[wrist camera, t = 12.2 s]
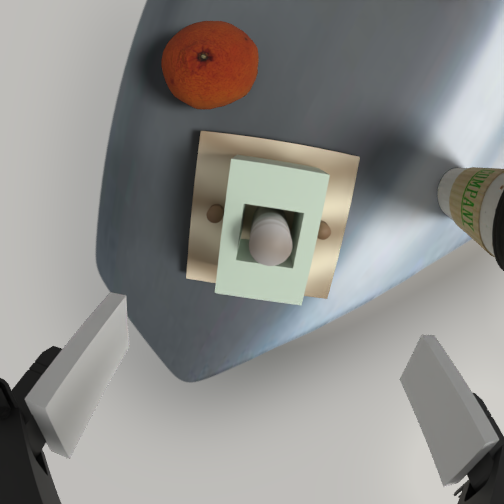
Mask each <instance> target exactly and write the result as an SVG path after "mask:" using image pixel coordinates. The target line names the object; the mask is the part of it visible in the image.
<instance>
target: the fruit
mask: <svg viewBox="0 0 504 504" xmlns="http://www.w3.org/2000/svg"><path fill="white" fill-rule="evenodd" d="M257 67H258V49H257V47H256V45H255V44H254V42H253V41H252V40H251V39H250V38H249V36H248V35H247V34H246V33H244V32H243V31H242V30H240V29H238V28H237V27H235V26H234V25H232V24H229V23H227V22H222V21H202V22H198V23H194V24H191V25H189V26H187V27H185V28H183V29H182V30H180V31H179V32H178V33H177V34H176V35H175V36H174V37H173V38H172V39H171V40H170V41H169V42H168V43H167V45H166V47H165V49H164V51H163V55H162V70H163V75H164V77H165V80H166V83H167V85H168V87H169V89H170V91H171V92H172V94H173V95H174V96H175V97H176V98H178V99H179V100H180V101H182V102H184V103H186V104H188V105H190V106H192V107H193V108H196V109H213V108H216V107H222V106H225V105H227V104H230V103H232V102H234V101H236V100H238V99H240V98H242V97H244V96H245V95H246V94H247V93H248V92H249V91H250V89H251V87H252V85H253V83H254V81H255V79H256V76H257V71H258V70H257Z"/></svg>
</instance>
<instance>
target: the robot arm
mask: <svg viewBox="0 0 504 504" xmlns="http://www.w3.org/2000/svg"><path fill="white" fill-rule="evenodd" d="M129 347H130V345H129V334H128V321H127V303H126V295H121V294H116V293H111V292H110V293H109V294H108V295H107V296H106V298H105V299H104V300H103V301H102V302H101V303H100V305H99V306H98V307H97V308H96V309H95V310H94V312H93V313H92V314H91V315H90V316H89V318H88V319H87V320H86V321H85V322H84V323H83V325H82V326H81V327H80V328H79V329H78V331H77V332H76V333H75V334H74V336H73V337H72V338H71V339H70V340H69V342H68V343H67V344H66V345H65V347H64V348H63V349H61V348H58V347H55V346H52V347H51V348H49V349H47V350H46V351H44V352H42V354H41V355H40V356H39V357H38V359H37V360H36V361H35V363H33V365H32V366H31V367H30V368H29V369H30V370H28V371H27V372H26V373H25V374H24V376H23V377H22V378H21V379H20V381H19V382H18V383H17V384H16V386H15V387H14V388H13V389H12V391H11V389H10V387H9V385H8V383H7V382H6V381H5V380H4V379H1V378H0V504H61V502H60V499H59V497H58V494H57V491H56V489H55V486H54V483H53V480H52V477H51V474H50V471H49V468H48V465H47V462H46V458H45V455H44V452H43V451H42V448H43V446H44V444H45V443H47V444H48V446H49V448H50V449H51V451H53V452H55V453H57V454H59V455H62V456H64V457H66V458H69V459H70V457H71V455H72V453H73V451H74V449H75V447H76V445H77V443H78V441H79V439H80V437H81V435H82V433H83V432H84V430H85V428H86V425H87V424H88V422H89V420H90V418H91V416H92V414H93V412H94V410H95V408H96V406H97V405H98V403H99V401H100V399H101V397H102V395H103V394H104V392H105V390H106V388H107V386H108V384H109V382H110V380H111V379H112V377H113V375H114V373H115V372H116V370H117V368H118V366H119V364H120V363H121V361H122V359H123V357H124V356H125V354H126V352H127V350H128V349H129ZM400 381H401V383H402V385H403V388H404V390H405V392H406V394H407V396H408V399H409V401H410V403H411V405H412V408H413V410H414V413H415V415H416V417H417V420H418V422H419V424H420V427H421V429H422V432H423V434H424V436H425V439H426V442H427V444H428V447H429V449H430V452H431V454H432V457H433V459H434V462H435V465H436V467H437V470H438V473H439V475H440V478H441V481H442V483H443V486H444V487H445V486H448V485H452V484H456V483H458V482H459V481H460V480H461V479H463V478H464V477H465V476H466V475H468V478H469V480H468V481H467V482H466V483H465V484H463V486H461V487H460V488H459V489H458V490H457V491H456V492H455V493H454V496H456V495H457V494H458V493H459V492H461V491H462V493H461V495H460V496H459V498H460V499H459V501H458V504H504V436H503V435H502V433H501V431H500V429H499V427H498V426H497V424H496V423H495V421H494V419H493V418H492V417H491V414H490V412H489V411H488V410H487V407H486V405H485V404H484V402H483V401H482V399H480V398H479V397H478V396H477V395H476V394H475V393H472V392H471V390H470V388H469V387H468V385H467V384H466V382H465V381H464V379H463V377H462V376H461V374H460V373H459V371H458V370H457V368H456V367H455V366H454V364H453V362H452V361H451V359H450V358H449V356H448V355H447V353H446V352H445V350H444V349H443V347H442V346H441V344H440V343H439V341H438V340H437V339H436V338H435V336H434V335H421V337H420V339H419V341H418V343H417V346H416V348H415V350H414V352H413V354H412V356H411V358H410V360H409V362H408V364H407V366H406V368H405V370H404V372H403V374H402V376H401V378H400Z"/></svg>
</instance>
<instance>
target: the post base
mask: <svg viewBox="0 0 504 504" xmlns="http://www.w3.org/2000/svg"><path fill="white" fill-rule="evenodd" d="M236 155H243V156H251V157H257V158H264V159H271V160H277V161H283V162H289V163H295V164H300V165H306V166H311V167H317V168H319V169H321V170H322V171H324V172H326V173H327V174H329V175H330V177H329V182H328V187H327V192H326V197H325V202H324V207H323V212H322V217H321V222H320V227H319V231H318V236H317V241H316V245H315V250H314V254H313V259H312V263H311V267H310V272H309V276H308V280H307V284H306V288H305V293H304V296H310V297H317V298H325V299H327V297H328V294H329V290H330V286H331V283H332V279H333V275H334V271H335V267H336V264H337V260H338V256H339V252H340V248H341V243H342V239H343V235H344V231H345V227H346V222H347V218H348V213H349V209H350V204H351V200H352V195H353V190H354V185H355V180H356V175H357V170H358V165H359V159H360V157H357V156H353V155H349V154H344V153H339V152H335V151H330V150H325V149H320V148H315V147H310V146H305V145H299V144H293V143H288V142H282V141H276V140H269V139H263V138H256V137H249V136H242V135H234V134H226V133H217V132H208V131H201V134H200V141H199V149H198V157H197V166H196V174H195V183H194V193H193V202H192V213H191V224H190V235H189V247H188V261H187V275H186V278H187V279H194V280H200V281H206V282H212V283H216V277H217V268H218V259H219V251H220V242H221V234H222V226H223V217H224V209H225V202H226V194H227V186H228V179H229V171H230V164H231V159H232V158H233V157H235V156H236ZM294 213H295V212H294V211H288V210H282V209H276V208H269V207H263V206H256V205H250V204H246V205H245V212H244V219H243V226H242V233H241V239H248V240H249V251H250V253H251V255H252V257H253V258H254V259H255V260H256V261H257V262H259V263H260V264H263V265H266V266H275V265H278V264H281V263H283V262H284V261H285V260H286V259H287V258H288V257H289V256H290V254H291V251H292V239H291V235H290V234H291V229H292V224H293V218H294Z"/></svg>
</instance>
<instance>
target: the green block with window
mask: <svg viewBox="0 0 504 504" xmlns="http://www.w3.org/2000/svg"><path fill="white" fill-rule="evenodd" d="M329 177H330V175H329V174H327V173H326V172H324V171H322V170H321V169H319V168H317V167H311V166H306V165H300V164H295V163H289V162H283V161H277V160H271V159H264V158H257V157H251V156H243V155H236V156H235V157H233V158H232V159H231V164H230V171H229V179H228V186H227V194H226V202H225V209H224V217H223V226H222V234H221V242H220V251H219V259H218V268H217V277H216V287H215V293H219V294H225V295H232V296H238V297H245V298H252V299H259V300H266V301H273V302H280V303H288V304H296V305H302V301H303V297H304V293H305V288H306V284H307V280H308V276H309V272H310V267H311V263H312V259H313V254H314V250H315V245H316V241H317V236H318V231H319V227H320V222H321V217H322V212H323V207H324V202H325V197H326V192H327V187H328V182H329ZM246 204H250V205H256V206H263V207H269V208H276V209H282V210H288V211H294V212H295V213H294V218H293V224H292V229H291V234H290V235H291V239H292V251H291V254H290V256H289V257H288V258H287V259H286V260H285V261H284V262H283V263H281V264H278V265H275V266H266V265H263V264H260V263H259V262H257V261H256V260H255V259H254V258H253V257H252V255H251V253H250V251H249V240H248V239H241V233H242V226H243V219H244V212H245V205H246Z"/></svg>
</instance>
